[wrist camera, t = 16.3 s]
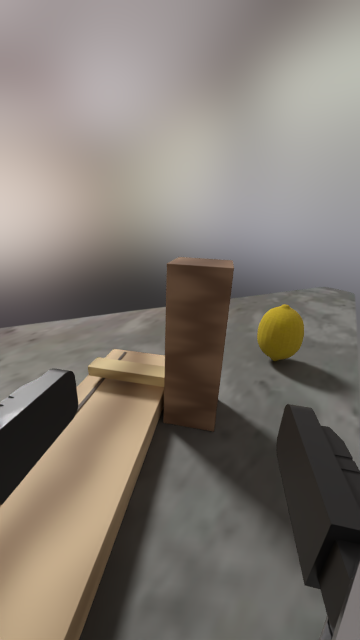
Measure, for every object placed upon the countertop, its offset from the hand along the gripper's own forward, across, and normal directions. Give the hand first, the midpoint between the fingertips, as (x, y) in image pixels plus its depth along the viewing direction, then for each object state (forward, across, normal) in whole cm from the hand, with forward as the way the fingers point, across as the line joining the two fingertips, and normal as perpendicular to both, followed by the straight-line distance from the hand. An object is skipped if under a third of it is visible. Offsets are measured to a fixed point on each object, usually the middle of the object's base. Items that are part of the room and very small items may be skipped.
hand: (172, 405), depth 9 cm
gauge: (+11, -4, -10) cm, 16 cm away
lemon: (+23, +9, -10) cm, 27 cm away
